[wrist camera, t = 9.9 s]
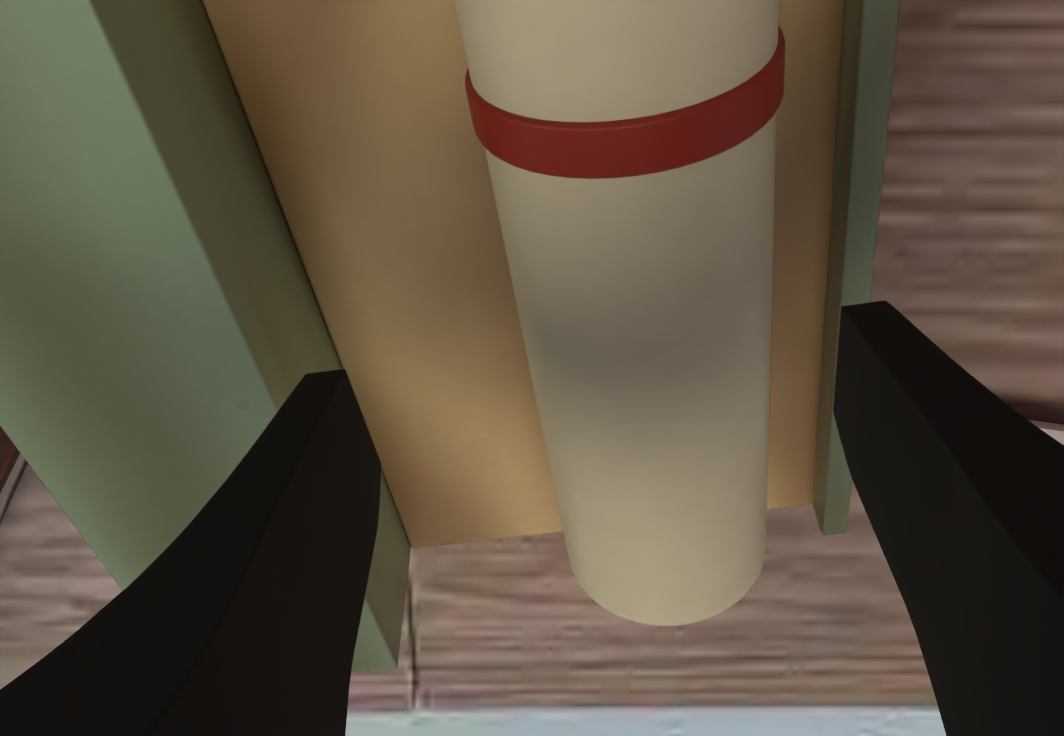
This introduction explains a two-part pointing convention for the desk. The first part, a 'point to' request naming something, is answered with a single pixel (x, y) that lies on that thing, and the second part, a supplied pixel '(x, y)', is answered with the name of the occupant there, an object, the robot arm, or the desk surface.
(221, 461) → the tray with green block
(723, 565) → the red-banded cream cylinder
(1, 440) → the book
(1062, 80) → the desk surface
